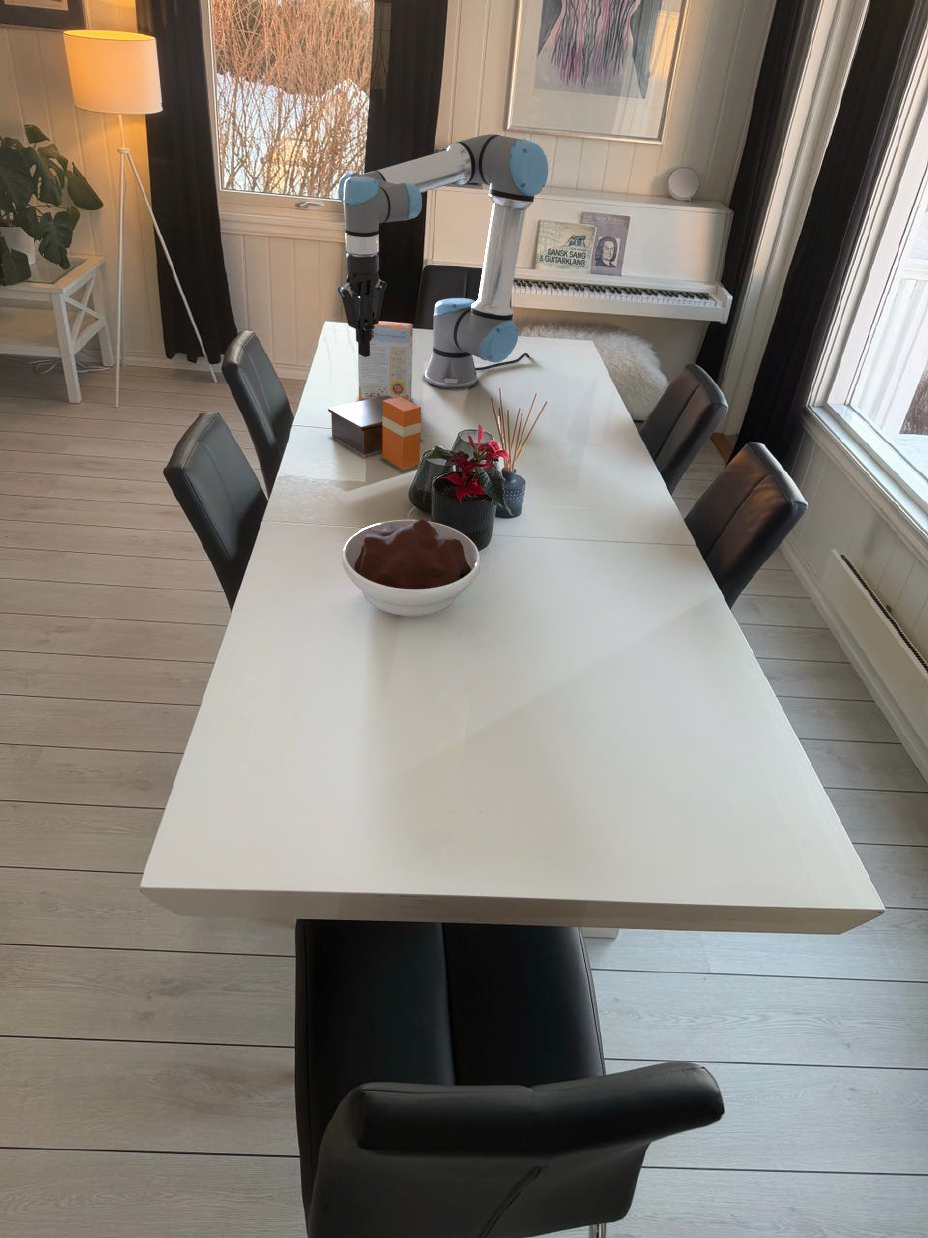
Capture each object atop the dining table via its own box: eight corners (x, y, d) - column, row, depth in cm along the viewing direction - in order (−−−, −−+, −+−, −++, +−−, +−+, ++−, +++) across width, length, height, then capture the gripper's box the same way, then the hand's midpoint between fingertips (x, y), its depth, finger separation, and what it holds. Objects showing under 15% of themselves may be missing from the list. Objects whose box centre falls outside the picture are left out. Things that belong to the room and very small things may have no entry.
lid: (360, 430, 201) (360, 426, 200) (328, 411, 209) (328, 408, 208) (421, 415, 212) (421, 412, 211) (387, 397, 220) (388, 394, 219)
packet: (398, 454, 208) (399, 395, 200) (419, 466, 204) (421, 406, 195) (381, 459, 205) (382, 400, 197) (402, 472, 201) (404, 411, 192)
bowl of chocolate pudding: (357, 555, 169) (356, 486, 161) (482, 568, 168) (488, 500, 160) (329, 628, 149) (326, 554, 140) (470, 643, 148) (476, 570, 139)
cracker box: (411, 398, 239) (413, 322, 226) (408, 406, 234) (410, 329, 222) (362, 393, 239) (362, 317, 227) (358, 401, 234) (357, 324, 222)
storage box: (364, 457, 206) (363, 431, 202) (331, 438, 214) (331, 412, 210) (420, 441, 216) (421, 415, 212) (387, 423, 224) (387, 398, 220)
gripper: (375, 246, 201) (376, 345, 215) (329, 253, 193) (333, 355, 207) (394, 253, 196) (394, 354, 210) (348, 260, 189) (351, 364, 203)
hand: (364, 354), depth 209 cm, fingers closed
